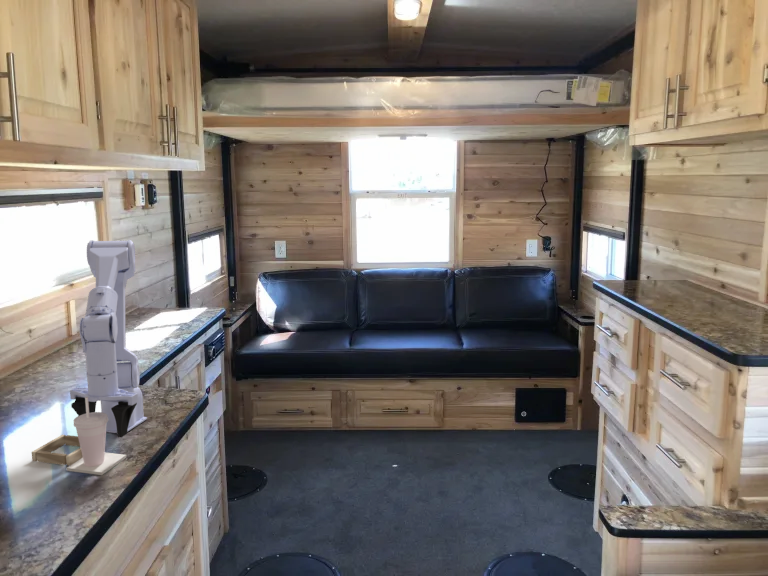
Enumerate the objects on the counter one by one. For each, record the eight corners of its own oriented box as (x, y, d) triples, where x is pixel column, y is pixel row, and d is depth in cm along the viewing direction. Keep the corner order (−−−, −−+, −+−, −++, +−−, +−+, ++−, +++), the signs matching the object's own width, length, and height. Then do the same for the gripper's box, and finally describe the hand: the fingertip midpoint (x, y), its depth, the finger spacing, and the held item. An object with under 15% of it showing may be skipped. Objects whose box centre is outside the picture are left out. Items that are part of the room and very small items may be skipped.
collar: (63, 443, 137) (62, 434, 136) (99, 447, 135) (98, 438, 135) (32, 461, 128) (31, 452, 128) (70, 465, 126) (69, 456, 126)
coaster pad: (93, 453, 132) (92, 450, 132) (126, 457, 130) (126, 454, 130) (66, 470, 124) (66, 467, 124) (101, 475, 123) (101, 472, 122)
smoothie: (87, 454, 130) (82, 391, 127) (117, 455, 130) (112, 392, 127) (70, 469, 124) (64, 402, 121) (101, 470, 123) (96, 403, 121)
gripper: (57, 374, 125) (62, 437, 127) (121, 380, 122) (125, 445, 124) (81, 364, 132) (86, 424, 134) (142, 369, 129) (145, 431, 131)
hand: (106, 433), depth 130 cm, fingers open, 7 cm apart
